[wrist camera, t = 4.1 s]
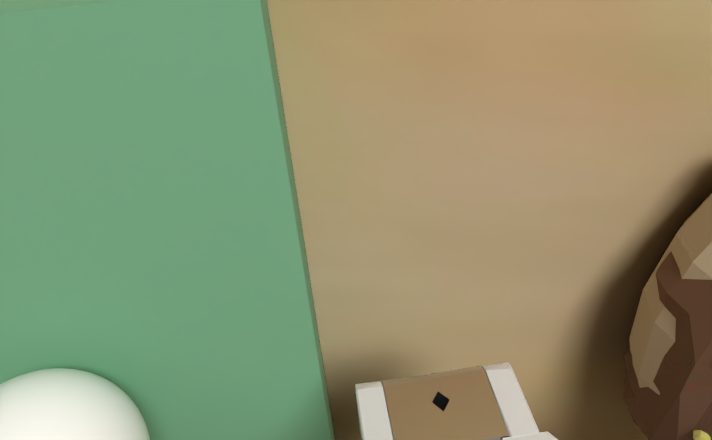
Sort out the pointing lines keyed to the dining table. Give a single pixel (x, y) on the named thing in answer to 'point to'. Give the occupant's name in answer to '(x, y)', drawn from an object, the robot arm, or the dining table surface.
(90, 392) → the white ball
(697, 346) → the donut
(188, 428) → the putting mat
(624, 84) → the dining table surface
